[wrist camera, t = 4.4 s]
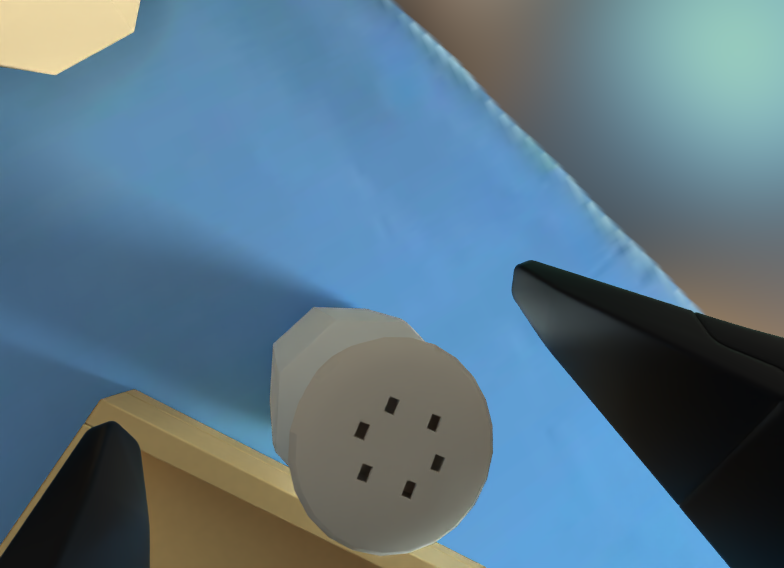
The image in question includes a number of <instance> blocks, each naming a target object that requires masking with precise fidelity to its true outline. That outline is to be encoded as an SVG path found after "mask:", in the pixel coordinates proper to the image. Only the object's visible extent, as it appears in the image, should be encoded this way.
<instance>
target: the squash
mask: <svg viewBox="0 0 784 568" xmlns="http://www.w3.org/2000/svg"><path fill="white" fill-rule="evenodd" d="M139 5H140V0H0V67H6V68H13V69H19V70H26V71H32V72H39V73H45V74H52V75H56V74H58V73H60V72H62V71H64V70H66V69H67V68H69V67H71V66H73V65H75V64H77V63H78V62H80V61H82V60H84V59H86V58H87V57H89V56H91V55H93V54H95V53H97V52H98V51H100V50H102V49H104V48H106V47H107V46H109V45H111V44H113V43H115V42H117V41H118V40H120V39H122V38H124V37H126V36H128V35H129V34H131V33H133V32H134V29H135V24H136V19H137V14H138V9H139Z"/></svg>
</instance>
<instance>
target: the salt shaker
mask: <svg viewBox="0 0 784 568" xmlns="http://www.w3.org/2000/svg"><path fill="white" fill-rule="evenodd" d="M270 410H271V424H272V438H273V445H274V448H275V451H276V453H277V454H278V455H279V456H280V457H281V458H282V460H283V461H284V462H285V463H286V464H287V465H288V466H289V468H290V473H291V477H292V482H293V487H294V491H295V493H296V495H297V496H298V498H299V500H300V502H301V504H302V506H303V508H304V510H305V512H306V513H307V515H308V517H309V518H310V519H311V520H312V521H313V522H314V523H315V524H316V525H317V526H318V527H319V528H320V529H321V530H322V531H323V532H324V533H325V534H326V535H327V536H328V537H329V538H331V539H333V540H335V541H337V542H338V543H340V544H342V545H344V546H346V547H348V548H349V549H351V550H353V551H358V552H363V553H368V554H373V555H378V556H385V555H396V554H406V553H410V552H413V551H415V550H418V549H420V548H423V547H425V546H428V545H431V544H433V543H435V542H436V541H438V540H439V539H440V538H442V537H443V536H444V535H446V534H447V533H449V532H450V531H451V530H453V529H454V528H455V527H457V525H458V524H459V523H460V522H461V521H462V519H463V518H464V517H465V516H466V515H467V513H468V512H469V511H470V510H471V508H472V507H473V506H474V505H475V503H476V501H477V499H478V497H479V495H480V492H481V490H482V488H483V486H484V484H485V482H486V480H487V476H488V472H489V467H490V463H491V458H492V454H493V431H492V422H491V418H490V414H489V410H488V406H487V402H486V399H485V397H484V395H483V393H482V391H481V390H480V388H479V386H478V384H477V382H476V380H475V378H474V377H473V376H472V375H471V373H470V372H469V371H468V370H467V369H466V368H465V367H464V366H463V365H462V364H461V363H460V362H459V361H458V359H457V358H455V357H454V356H452V355H450V354H449V353H447V352H446V351H444V350H443V349H441V348H439V347H438V346H436V345H434V344H431V343H427V342H425V341H424V340H423V339H422V338H421V337H420V336H419V334H418V333H417V332H416V331H415V330H414V329H413V328H412V327H411V326H410V325H409V324H408V323H407V322H405V321H403V320H402V319H400V318H397V317H393V316H390V315H386V314H383V313H379V312H376V311H372V310H369V309H359V308H329V307H313V308H312V309H311V310H310V311H309V312H308V313H307V314H306V315H304V316H303V317H302V318H301V319H300V320H299V321H298V322H297V323H296V324H294V325H293V326H292V327H291V328H290V329H289V330H288V331H287V332H286V333H285V334H283V335H282V336H281V337H280V338H279V339H278V340H277V341H276V342H275V343H274V344H273V353H272V370H271V387H270Z"/></svg>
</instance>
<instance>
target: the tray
mask: <svg viewBox="0 0 784 568" xmlns="http://www.w3.org/2000/svg"><path fill="white" fill-rule="evenodd" d="M108 421H115V422H117V423H118V424H120V425H121V426H122V427H123V428H124V429H125V430H126V431H127V432H128V433H129V434H130V435H131V436H132V437H133V438H134V439H135V440H136V441H137V442H138V444H139V446H140V450H141V457H142V465H143V473H144V481H145V489H146V497H147V505H148V513H149V524H150V568H486V567H484V566H482V565H480V564H478V563H476V562H474V561H472V560H470V559H468V558H467V557H465V556H463V555H461V554H459V553H457V552H455V551H453V550H451V549H449V548H447V547H445V546H443V545H441V544H439V543H437V542H435V543H433V544H431V545H428V546H425V547H423V548H420V549H418V550H415V551H413V552H410V553H406V554H396V555H385V556H378V555H373V554H368V553H363V552H358V551H353V550H351V549H349V548H348V547H346V546H344V545H342V544H340V543H338V542H337V541H335V540H333V539H331V538H329V537H328V536H327V535H326V534H325V533H324V532H323V531H322V530H321V529H320V528H319V527H318V526H317V525H316V524H315V523H314V522H313V521H312V520H311V519H310V518H309V517H308V515H307V513H306V512H305V510H304V508H303V506H302V504H301V502H300V500H299V498H298V496H297V495H296V493H295V491H294V487H293V482H292V477H291V473H290V468H289V467H287V466H285V465H283V464H281V463H279V462H277V461H275V460H273V459H271V458H269V457H267V456H265V455H263V454H261V453H259V452H258V451H256V450H254V449H252V448H250V447H248V446H246V445H244V444H242V443H240V442H238V441H236V440H234V439H232V438H230V437H228V436H226V435H224V434H222V433H220V432H218V431H216V430H214V429H212V428H210V427H208V426H206V425H204V424H202V423H200V422H198V421H196V420H194V419H192V418H190V417H189V416H187V415H185V414H183V413H181V412H179V411H177V410H175V409H173V408H171V407H169V406H167V405H165V404H163V403H161V402H159V401H157V400H155V399H153V398H151V397H149V396H147V395H145V394H143V393H141V392H139V391H137V390H135V389H133V390H130V391H126V392H123V393H119V394H116V395H113V396H109V397H106V398H103V399H101V400H100V401H99V402H98V404H97V405H96V407H95V408H94V409H93V411H92V412H91V414H90V415H89V417H88V418H87V420H86V421H85V424H83V425H82V427H81V428H80V430H79V431H78V433H77V434H76V436H75V437H74V438H73V440H72V441H71V443H70V444H69V446H68V447H67V449H66V450H65V452H64V453H63V454H62V456H61V457H60V459H59V460H58V462H57V463H56V465H55V466H54V468H53V469H52V471H51V472H50V473H49V475H48V476H47V478H46V479H45V481H44V482H43V484H42V485H41V487H40V488H39V490H38V491H37V492H36V494H35V495H34V497H33V498H32V500H31V501H30V503H29V504H28V506H27V507H26V508H25V510H24V511H23V513H22V514H21V516H20V517H19V519H18V520H17V522H16V523H15V525H14V526H13V527H12V529H11V530H10V532H9V533H8V535H7V536H6V538H5V539H4V541H3V542H2V544H1V545H0V557H1V555H2V554H3V553H4V551H5V550H6V548H7V547H8V545H9V544H10V542H11V541H12V539H13V538H14V536H15V535H16V533H17V532H18V531H19V529H20V528H21V526H22V525H23V523H24V522H25V520H26V519H27V517H28V516H29V514H30V513H31V511H32V510H33V508H34V507H35V506H36V504H37V503H38V501H39V500H40V498H41V497H42V495H43V494H44V492H45V491H46V489H47V488H48V486H49V485H50V484H51V482H52V481H53V479H54V478H55V476H56V475H57V473H58V472H59V470H60V469H61V467H62V466H63V464H64V463H65V461H66V460H67V459H68V457H69V456H70V454H71V453H72V451H73V450H74V448H75V447H76V445H77V444H78V442H79V441H80V439H81V438H82V437H83V435H84V434H85V432H86V431H87V430H89V429H90V428H92V427H95V426H97V425H100V424H102V423H105V422H108Z"/></svg>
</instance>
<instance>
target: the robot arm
mask: <svg viewBox="0 0 784 568" xmlns="http://www.w3.org/2000/svg"><path fill="white" fill-rule="evenodd" d="M512 295H513V298H514V300H515V301H516V303H517V304H518V306H519V307H520V309H521V310H522V312H523V313H524V315H525V316H526V318H527V319H528V321H529V322H530V324H531V325H532V327H533V328H534V330H535V331H536V333H537V334H538V336H539V337H540V339H541V340H542V341H543V343H544V344H545V346H546V347H547V348H548V350H549V351H550V352H551V353H552V355H553V356H554V357H555V358H556V359H557V361H558V362H559V363H560V364H561V365H562V367H563V368H564V369H565V370H566V371H567V373H568V374H569V375H570V376H571V377H572V379H573V380H574V381H575V382H576V383H577V385H578V386H579V387H580V388H581V389H582V391H583V392H584V393H585V394H586V395H587V396H588V398H589V399H590V400H591V401H592V402H593V404H594V405H595V406H596V407H597V408H598V410H599V411H600V412H601V413H602V414H603V416H604V417H605V418H606V419H607V420H608V422H609V423H610V424H611V425H612V426H613V428H614V429H615V430H616V431H617V432H618V434H619V435H620V436H621V437H622V438H623V440H624V441H625V442H626V443H627V444H628V446H629V447H630V448H631V449H632V450H633V452H634V453H635V454H636V455H637V456H638V458H639V459H640V460H641V461H642V462H643V463H644V465H645V466H646V467H647V468H648V469H649V471H650V472H651V473H652V474H653V475H654V477H655V478H656V479H657V480H658V481H659V483H660V484H661V485H662V486H663V487H664V489H665V490H666V491H667V492H668V493H669V495H670V496H671V497H672V498H673V499H674V501H675V502H676V503H677V504H678V505H679V507H680V508H681V509H682V511H683V512H684V513H685V514H686V515H687V517H688V518H689V519H690V520H691V521H692V522H693V524H694V525H695V526H696V527H697V528H698V530H699V531H700V532H701V533H702V534H703V536H704V537H705V538H706V539H707V540H708V542H709V543H710V544H711V545H712V546H713V548H714V549H715V550H716V551H717V552H718V554H719V555H720V556H721V557H722V558H723V560H724V561H725V562H726V563H727V564H728V566H729V567H730V568H784V338H783V337H779V336H775V335H771V334H767V333H764V332H760V331H756V330H753V329H749V328H746V327H742V326H739V325H735V324H732V323H729V322H726V321H722V320H719V319H716V318H713V317H709V316H707V315H703V314H700V313H697V312H696V313H694V312H693V311H691V310H687V309H684V308H681V307H678V306H675V305H672V304H669V303H666V302H662V301H659V300H656V299H653V298H650V297H647V296H644V295H640V294H637V293H634V292H631V291H628V290H625V289H622V288H618V287H615V286H612V285H609V284H606V283H603V282H600V281H596V280H593V279H590V278H587V277H584V276H581V275H578V274H575V273H571V272H568V271H565V270H562V269H559V268H556V267H553V266H549V265H546V264H543V263H540V262H537V261H533V260H529V261H526V262H523V263H521V264H518V265H517V266H516V267H515V269H514V275H513V283H512ZM0 568H150V524H149V513H148V505H147V497H146V489H145V481H144V473H143V465H142V457H141V450H140V446H139V444H138V442H137V441H136V440H135V439H134V438H133V437H132V436H131V435H130V434H129V433H128V432H127V431H126V430H125V429H124V428H123V427H122V426H121V425H120V424H118V423H117V422H115V421H108V422H105V423H102V424H100V425H97V426H95V427H92V428H90V429H89V430H87V431H86V432H85V434H84V435H83V437H82V438H81V439H80V441H79V442H78V444H77V445H76V447H75V448H74V450H73V451H72V453H71V454H70V456H69V457H68V459H67V460H66V461H65V463H64V464H63V466H62V467H61V469H60V470H59V472H58V473H57V475H56V476H55V478H54V479H53V481H52V482H51V484H50V485H49V486H48V488H47V489H46V491H45V492H44V494H43V495H42V497H41V498H40V500H39V501H38V503H37V504H36V506H35V507H34V508H33V510H32V511H31V513H30V514H29V516H28V517H27V519H26V520H25V522H24V523H23V525H22V526H21V528H20V529H19V531H18V532H17V533H16V535H15V536H14V538H13V539H12V541H11V542H10V544H9V545H8V547H7V548H6V550H5V551H4V553H3V554H2V555H1V557H0Z"/></svg>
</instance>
